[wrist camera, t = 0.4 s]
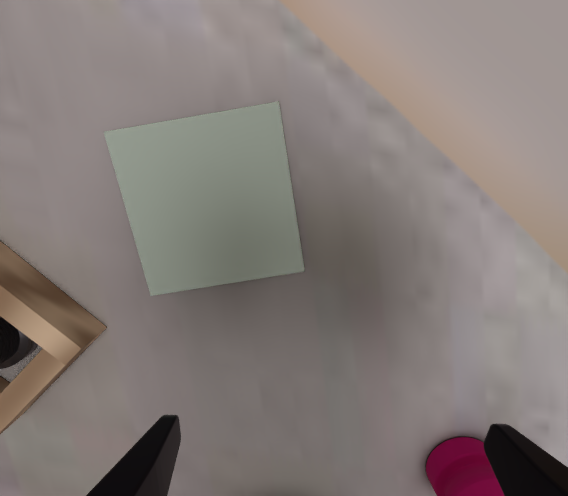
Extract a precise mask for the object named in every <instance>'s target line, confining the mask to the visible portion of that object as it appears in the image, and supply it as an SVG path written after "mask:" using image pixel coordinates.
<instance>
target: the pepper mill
mask: <svg viewBox="0 0 568 496" xmlns="http://www.w3.org/2000/svg"><path fill="white" fill-rule="evenodd" d="M426 473H427V476H428V479H429V481H430V483H431V485H432V487H433V489H434V491H435V493H436V494H437V496H504V494H503V491H502V489H501V487H500V485H499V482H498V480H497V478H496V476H495V474H494V471H493V469H492V467H491V465H490V462H489V460H488V458H487V456H486V454H485V450H484V443H483V442H482V441H480V440H477V439H474V438H470V437H457V438H453V439H450V440H447V441H445V442H443V443H441V444H440V445H438V446H437V447H436V448H435V449H434V450H433V451H432V452H431V454H430V456H429V457H428V460H427V464H426Z"/></svg>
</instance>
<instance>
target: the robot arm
mask: <svg viewBox="0 0 568 496" xmlns="http://www.w3.org/2000/svg"><path fill="white" fill-rule="evenodd" d="M180 440H181V433H180V424H179V417H178V416H177V415H164V416H162V417H161V418H160V419H159V420H158V421H157V422H156V423H155V424H154V425H153V426H152V427H151V428H150V429H149V430H148V431H147V432H146V433H145V434H144V436H143V437H142V438H141V439H140V440H139V441H138V442H137V443H136V444H135V445H134V446H133V447H132V448H131V449H130V450H129V451H128V452H127V453H126V454H125V455H124V457H123V458H122V459H121V460H120V461H119V462H118V463H117V464H116V465H115V466H114V467H113V468H112V469H111V470H110V471H109V472H108V473H107V474H106V475H105V476H104V477H103V479H102V480H101V481H100V482H99V483H98V484H97V485H96V486H95V487H94V488H93V489H92V490H91V491H90V492H89V493H88V494H87V495H86V496H167V494H168V490H169V486H170V482H171V478H172V474H173V470H174V466H175V462H176V458H177V454H178V450H179V446H180ZM484 450H485V454H486V456H487V458H488V460H489V462H490V465H491V467H492V469H493V471H494V474H495V476H496V478H497V480H498V482H499V485H500V487H501V489H502V491H503V494H504V496H568V467H566V466H565V465H564V464H562V463H561V462H559V461H558V460H557V459H555V458H554V457H553V456H551V455H550V454H548V453H547V452H546V451H544V450H543V449H542V448H540V447H539V446H537V445H536V444H535V443H533V442H532V441H530V440H529V439H528V438H526V437H525V436H524V435H522V434H521V433H519V432H518V431H517V430H515V429H514V428H513V427H511V426H509V425H507V424H492V425H491V426H490V428H489V431H488V433H487V436H486V438H485V441H484Z"/></svg>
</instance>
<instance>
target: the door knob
mask: <svg viewBox="0 0 568 496" xmlns="http://www.w3.org/2000/svg"><path fill="white" fill-rule="evenodd" d="M37 346H38V344H37V343H35V342H34V341H33V340H31V339H30V338H29V337H27V336H26V335H25V334H23V333H22V332H21V331H19V330H18V329H17V328H15V327H14V326H13V325H11V324H10V323H9V322H8V321H6V320H5V319H4V318H2V317H1V316H0V369H2V368H7V367H10V366H12V365H14V364H16V363H18V362H19V361H20V360H22V359H23V358H25V357H26V356H28V355H29V354H31V353H32V352H33V351H34V350H35V349H36V347H37Z"/></svg>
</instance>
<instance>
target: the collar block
mask: <svg viewBox="0 0 568 496" xmlns="http://www.w3.org/2000/svg"><path fill="white" fill-rule="evenodd" d="M0 316H1V317H2V318H4V319H5V320H6V321H8V322H9V323H10V324H11V325H13V326H14V327H15V328H17V329H18V330H19V331H21V332H22V333H23V334H25V335H26V336H27V337H29V338H30V339H31V340H33V341H34V342H35V343H37V344H38V345H39V346H41V347H42V348H43V349H42V350H41V351H40V352H39V353H38V354H37V355H36V356H35V357H34V358H33V360H32V361H31V362H30V363H29V364H28V365H27V366H26V367H25V368H24V369H23V370H22V371H21V372H20V373H19V374H18V376H17V377H16V378H15V379H14V380H13V381H12V382H11V383H9V382H8V381H6V380H5V379H3V378H2V377H1V376H0V434H1V433H2V432H3V431H4V430H5V429H7V428H8V427H9V426H10V425H11V424H12V423H13V422H14V421H16V420H17V419H18V418H19V417H20V416H21V415H22V414H23V413H24V412H25V411H26V410H27V409H28V408H29V407H30V406H31V405H32V404H33V403H34V402H35V401H36V400H37V399H38V398H39V397H40V396H41V395H42V394H43V393H44V392H45V391H46V390H47V389H48V388H49V387H50V386H51V384H52V383H53V382H54V381H55V380H56V379H57V378H58V377H59V376H60V375H61V374H62V373H63V372H64V371H65V370H66V369H67V368H68V367H69V366H70V365H71V364H72V363H73V362H74V361H75V360H76V359H77V358H78V357H79V356H80V355H81V354H82V353H83V352H84V351H85V350H86V349H87V348H88V347H89V345H90V344H91V343H92V342H93V341H94V340H95V339H96V338H97V337H98V336H99V335H100V334H101V333H102V332H103V331H104V330H105V329H106V328H107V327H106V326H105V325H103V324H102V323H101V322H100V321H99V320H97V319H96V318H95V317H94V316H92V315H91V314H90V313H89V312H87V311H86V310H85V309H84V308H82V307H81V306H80V305H79V304H78V303H76V302H75V301H74V300H73V299H71V298H70V297H69V296H68V295H66V294H65V293H64V292H63V291H61V290H60V289H59V288H58V287H57V286H55V285H54V284H53V283H52V282H50V281H49V280H48V279H47V278H45V277H44V276H43V275H42V274H40V273H39V272H38V271H37V270H35V269H34V268H33V267H32V266H31V265H29V264H28V263H27V262H26V261H24V260H23V259H22V258H21V257H19V256H18V255H17V254H16V253H14V252H13V251H12V250H11V249H10V248H8V247H7V246H6V245H5V244H3V243H2V242H1V241H0Z"/></svg>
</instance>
